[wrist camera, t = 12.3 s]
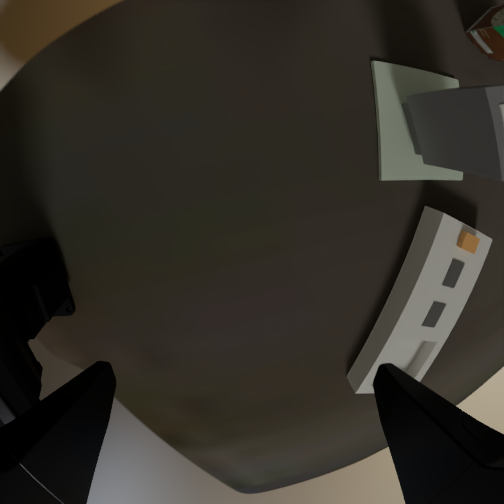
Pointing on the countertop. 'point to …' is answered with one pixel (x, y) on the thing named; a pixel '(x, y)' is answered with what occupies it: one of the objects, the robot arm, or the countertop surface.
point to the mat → (403, 121)
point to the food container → (489, 33)
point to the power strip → (423, 299)
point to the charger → (459, 129)
